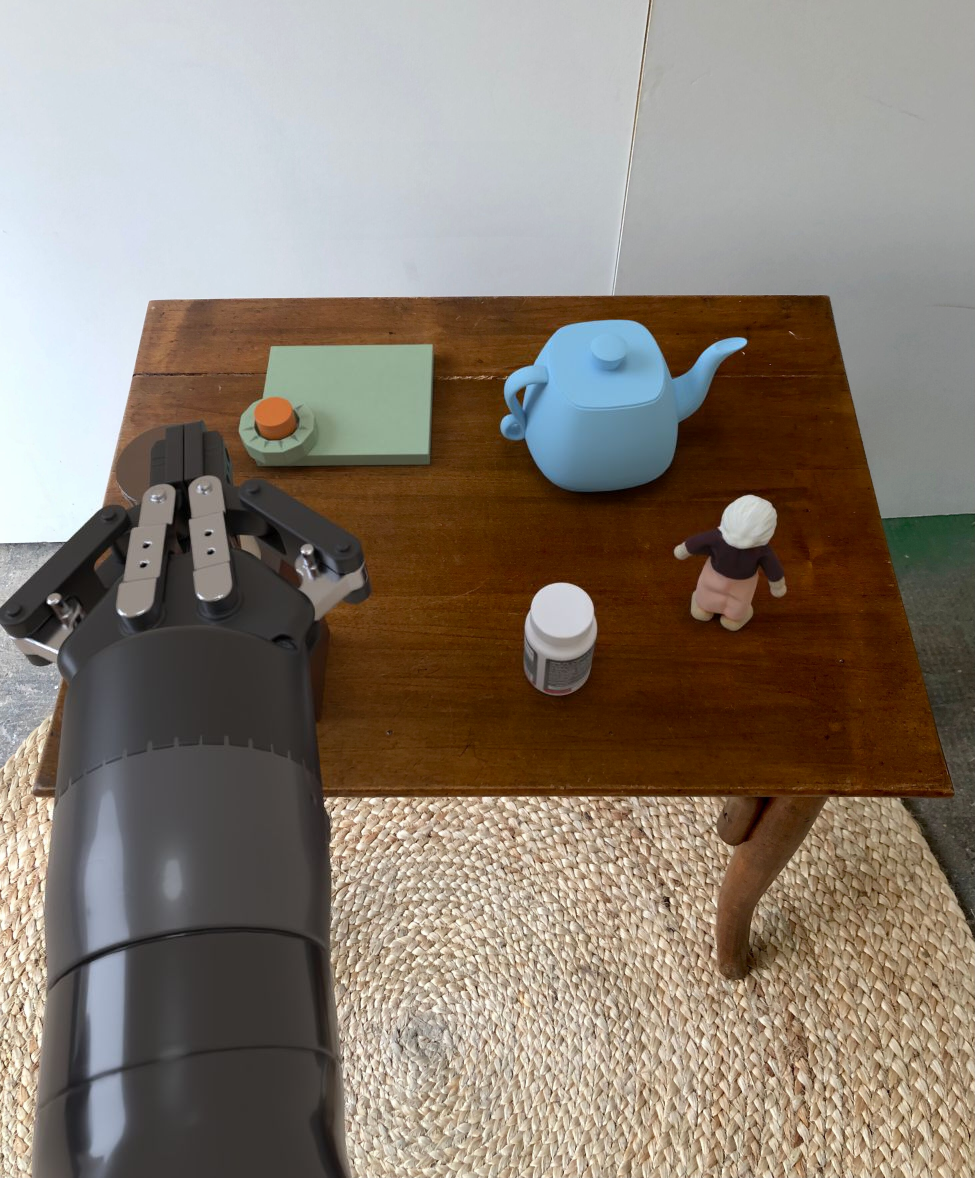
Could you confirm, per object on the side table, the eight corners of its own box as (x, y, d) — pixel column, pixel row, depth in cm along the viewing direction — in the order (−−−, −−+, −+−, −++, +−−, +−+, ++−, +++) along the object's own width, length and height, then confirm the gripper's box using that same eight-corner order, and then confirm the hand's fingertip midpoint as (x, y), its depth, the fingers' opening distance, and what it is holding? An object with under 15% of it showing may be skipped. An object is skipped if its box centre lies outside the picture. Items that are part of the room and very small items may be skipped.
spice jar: (155, 568, 51) (92, 469, 43) (221, 511, 53) (173, 406, 45) (215, 617, 49) (161, 524, 41) (281, 556, 51) (242, 456, 43)
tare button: (256, 440, 71) (251, 426, 70) (261, 411, 73) (256, 396, 71) (294, 440, 71) (290, 425, 70) (298, 411, 73) (294, 396, 71)
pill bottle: (602, 656, 64) (615, 598, 57) (569, 709, 62) (577, 656, 55) (544, 625, 66) (550, 564, 58) (510, 675, 64) (511, 619, 56)
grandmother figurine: (768, 594, 67) (820, 492, 56) (764, 640, 65) (817, 544, 54) (663, 575, 68) (695, 471, 57) (657, 619, 66) (688, 520, 55)
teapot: (771, 398, 62) (511, 422, 61) (736, 491, 71) (509, 513, 71) (727, 273, 68) (490, 293, 68) (700, 373, 78) (491, 392, 77)
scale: (244, 476, 73) (234, 452, 70) (263, 357, 79) (255, 331, 77) (429, 474, 73) (427, 450, 70) (434, 355, 79) (431, 329, 76)
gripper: (401, 707, 24) (333, 333, 35) (-115, 817, 23) (-18, 394, 34) (431, 828, 30) (365, 475, 41) (20, 920, 29) (66, 531, 39)
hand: (191, 439), depth 37 cm, fingers closed
